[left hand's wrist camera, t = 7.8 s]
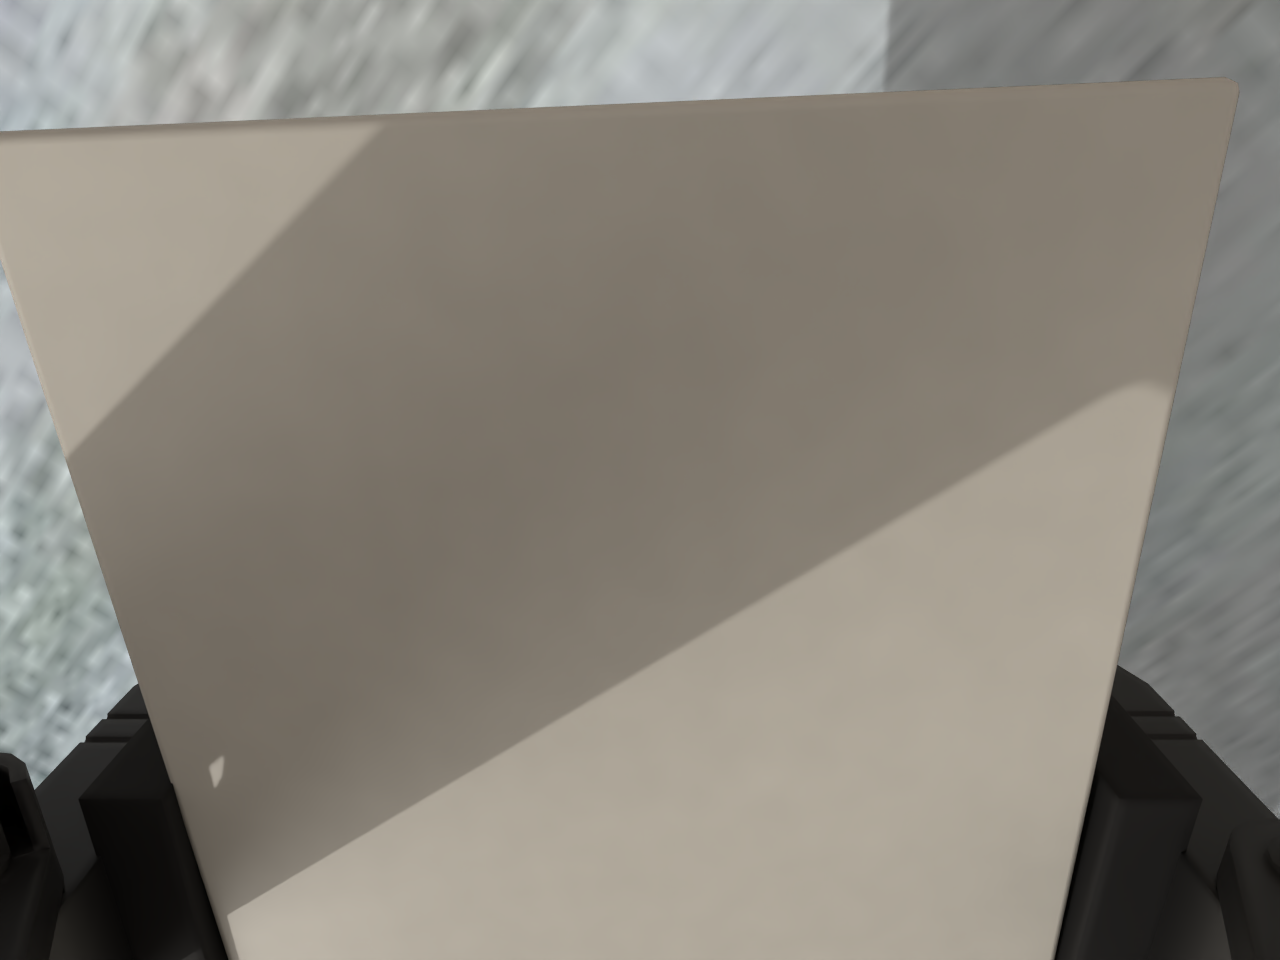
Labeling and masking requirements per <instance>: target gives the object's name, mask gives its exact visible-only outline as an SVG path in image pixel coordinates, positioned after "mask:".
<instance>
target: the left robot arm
mask: <svg viewBox="0 0 1280 960" xmlns="http://www.w3.org/2000/svg"><path fill="white" fill-rule="evenodd" d="M0 960H228V957H227V954H226V950H225V947H224V944H223V941H222V938H221V935H220V932H219V929H218V926H217V923H216V920H215V917H214V914H213V911H212V907H211V904H210V901H209V898H208V895H207V892H206V889H205V886H204V883H203V880H202V877H201V874H200V871H199V868H198V864H197V861H196V858H195V855H194V852H193V849H192V846H191V843H190V840H189V837H188V834H187V831H186V828H185V824H184V821H183V818H182V814H181V811H180V807H179V804H178V800H177V797H176V793H175V790H174V786H173V783H171V782H170V779H169V775H168V772H167V769H166V766H165V763H164V760H163V757H162V754H161V751H160V748H159V745H158V742H157V739H156V736H155V732H154V729H153V726H152V723H151V720H150V717H149V714H148V711H147V708H146V705H145V702H144V699H143V696H142V693H141V690H140V686H139V683H138V684H137V685H135V686H134V687H133V688H132V689H131V690H130V691H129V692H128V693H127V694H126V695H125V696H124V697H123V698H122V699H121V700H120V701H119V702H118V703H117V704H116V705H115V706H114V708H113V709H112V710H111V711H110V712H109V713H108V717H107V719H102V720H101V721H100V722H99V723H98V724H97V725H96V726H95V727H94V728H93V730H92V731H91V732H90V733H89V734H88V735H87V736H86V740H85V742H84V743H79V744H78V745H77V746H76V747H75V748H74V749H73V750H72V752H71V753H70V754H69V755H68V756H67V757H66V758H65V759H64V760H63V761H62V762H61V763H60V764H59V765H58V766H57V767H56V768H55V769H54V770H53V771H52V772H51V774H50V775H49V776H48V777H47V778H46V779H45V780H44V781H43V782H42V783H41V784H40V785H39V786H38V787H37V788H36V789H35V790H34V788H33V785H32V782H31V779H30V776H29V773H28V770H27V767H26V764H25V763H24V762H23V761H21V760H20V759H18V758H17V757H15V756H14V755H12V754H9V753H0ZM1054 960H1280V819H1278V818H1277V817H1276V816H1275V815H1274V814H1273V813H1272V812H1271V811H1270V810H1269V809H1268V808H1267V807H1266V806H1265V805H1264V804H1263V803H1262V802H1261V801H1260V800H1259V799H1258V798H1257V797H1256V796H1255V794H1254V793H1253V792H1252V791H1251V790H1250V789H1249V788H1248V787H1247V786H1246V785H1245V784H1244V783H1243V782H1242V781H1241V780H1240V779H1239V778H1238V777H1237V776H1236V775H1235V774H1234V773H1233V772H1232V771H1231V770H1230V768H1229V767H1228V766H1227V765H1226V764H1225V763H1224V762H1223V761H1222V760H1221V759H1220V758H1219V757H1218V756H1217V755H1216V754H1215V753H1214V752H1213V751H1212V750H1211V749H1210V748H1209V747H1208V746H1207V745H1206V744H1205V742H1204V741H1203V740H1197V738H1196V733H1195V732H1194V731H1193V730H1192V729H1191V728H1190V727H1189V726H1188V725H1187V724H1186V723H1185V722H1184V721H1183V720H1182V719H1181V718H1180V717H1175V714H1174V710H1173V709H1172V708H1171V707H1170V706H1169V705H1168V704H1167V703H1166V702H1165V701H1164V700H1163V699H1162V698H1161V697H1160V696H1159V695H1158V694H1157V693H1156V691H1155V690H1154V689H1153V688H1152V687H1151V686H1150V685H1149V684H1148V683H1146V682H1144V681H1143V680H1141V679H1139V678H1138V677H1136V676H1135V675H1133V674H1131V673H1130V672H1128V671H1126V670H1125V669H1123V668H1121V667H1120V666H1118V665H1117V668H1116V673H1115V677H1114V682H1113V687H1112V691H1111V696H1110V701H1109V705H1108V710H1107V715H1106V720H1105V724H1104V729H1103V734H1102V738H1101V743H1100V748H1099V752H1098V757H1097V762H1096V766H1095V771H1094V776H1093V780H1092V785H1091V790H1090V794H1089V799H1088V804H1087V809H1086V813H1085V818H1084V823H1083V827H1082V832H1081V837H1080V841H1079V846H1078V851H1077V855H1076V860H1075V865H1074V869H1073V874H1072V879H1071V883H1070V888H1069V893H1068V898H1067V902H1066V907H1065V912H1064V916H1063V921H1062V926H1061V930H1060V935H1059V940H1058V944H1057V949H1056V954H1055V958H1054Z"/></svg>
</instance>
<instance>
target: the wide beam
mask: <svg viewBox="0 0 1280 960" xmlns="http://www.w3.org/2000/svg"><path fill="white" fill-rule="evenodd" d="M1238 96H1239V87H1238V83H1237V82H1235V81H1232V80H1230V79H1228V78H1226V77H1215V78H1193V79H1170V80H1148V81H1125V82H1103V83H1080V84H1058V85H1035V86H1013V87H990V88H968V89H945V90H923V91H900V92H878V93H855V94H833V95H810V96H788V97H765V98H743V99H720V100H698V101H675V102H653V103H630V104H608V105H585V106H563V107H540V108H518V109H495V110H473V111H450V112H428V113H405V114H383V115H360V116H338V117H315V118H293V119H270V120H247V121H225V122H202V123H180V124H157V125H135V126H112V127H90V128H67V129H45V130H22V131H0V260H1V263H2V266H3V269H4V272H5V275H6V278H7V281H8V284H9V287H10V290H11V293H12V297H13V300H14V303H15V306H16V309H17V312H18V315H19V318H20V321H21V324H22V327H23V330H24V333H25V336H26V340H27V343H28V346H29V349H30V352H31V355H32V358H33V361H34V364H35V367H36V370H37V373H38V376H39V379H40V383H41V386H42V389H43V392H44V395H45V398H46V401H47V404H48V407H49V410H50V413H51V416H52V419H53V422H54V425H55V429H56V432H57V435H58V438H59V441H60V444H61V447H62V450H63V453H64V456H65V459H66V462H67V465H68V468H69V472H70V475H71V478H72V481H73V484H74V487H75V490H76V493H77V496H78V499H79V502H80V505H81V508H82V511H83V515H84V518H85V521H86V524H87V527H88V530H89V533H90V536H91V539H92V542H93V545H94V548H95V551H96V554H97V557H98V561H99V564H100V567H101V570H102V573H103V576H104V579H105V582H106V585H107V588H108V591H109V594H110V597H111V600H112V604H113V607H114V610H115V613H116V616H117V619H118V622H119V625H120V628H121V631H122V634H123V637H124V640H125V643H126V647H127V650H128V653H129V656H130V659H131V662H132V665H133V668H134V671H135V674H136V677H137V680H138V683H139V686H140V690H141V693H142V696H143V699H144V702H145V705H146V708H147V711H148V714H149V717H150V720H151V723H152V726H153V729H154V732H155V736H156V739H157V742H158V745H159V748H160V751H161V754H162V757H163V760H164V763H165V766H166V769H167V772H168V775H169V779H170V782H171V783H173V786H174V790H175V793H176V797H177V800H178V804H179V807H180V811H181V814H182V818H183V821H184V824H185V828H186V831H187V834H188V837H189V840H190V843H191V846H192V849H193V852H194V855H195V858H196V861H197V864H198V868H199V871H200V874H201V877H202V880H203V883H204V886H205V889H206V892H207V895H208V898H209V901H210V904H211V907H212V911H213V914H214V917H215V920H216V923H217V926H218V929H219V932H220V935H221V938H222V941H223V944H224V947H225V950H226V954H227V957H228V960H1054V958H1055V954H1056V949H1057V944H1058V940H1059V935H1060V930H1061V926H1062V921H1063V916H1064V912H1065V907H1066V902H1067V898H1068V893H1069V888H1070V883H1071V879H1072V874H1073V869H1074V865H1075V860H1076V855H1077V851H1078V846H1079V841H1080V837H1081V832H1082V827H1083V823H1084V818H1085V813H1086V809H1087V804H1088V799H1089V794H1090V790H1091V785H1092V780H1093V776H1094V771H1095V766H1096V762H1097V757H1098V752H1099V748H1100V743H1101V738H1102V734H1103V729H1104V724H1105V720H1106V715H1107V710H1108V705H1109V701H1110V696H1111V691H1112V687H1113V682H1114V677H1115V673H1116V668H1117V663H1118V659H1119V654H1120V649H1121V645H1122V640H1123V635H1124V631H1125V626H1126V621H1127V616H1128V612H1129V607H1130V602H1131V598H1132V593H1133V588H1134V584H1135V579H1136V574H1137V570H1138V565H1139V560H1140V556H1141V551H1142V546H1143V541H1144V537H1145V532H1146V527H1147V523H1148V518H1149V513H1150V509H1151V504H1152V499H1153V495H1154V490H1155V485H1156V481H1157V476H1158V471H1159V467H1160V462H1161V457H1162V452H1163V448H1164V443H1165V438H1166V434H1167V429H1168V424H1169V420H1170V415H1171V410H1172V406H1173V401H1174V396H1175V392H1176V387H1177V382H1178V378H1179V373H1180V368H1181V363H1182V359H1183V354H1184V349H1185V345H1186V340H1187V335H1188V331H1189V326H1190V321H1191V317H1192V312H1193V307H1194V303H1195V298H1196V293H1197V289H1198V284H1199V279H1200V274H1201V270H1202V265H1203V260H1204V256H1205V251H1206V246H1207V242H1208V237H1209V232H1210V228H1211V223H1212V218H1213V214H1214V209H1215V204H1216V200H1217V195H1218V190H1219V185H1220V181H1221V176H1222V171H1223V167H1224V162H1225V157H1226V153H1227V148H1228V143H1229V139H1230V134H1231V129H1232V125H1233V120H1234V115H1235V110H1236V106H1237V101H1238Z"/></svg>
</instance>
